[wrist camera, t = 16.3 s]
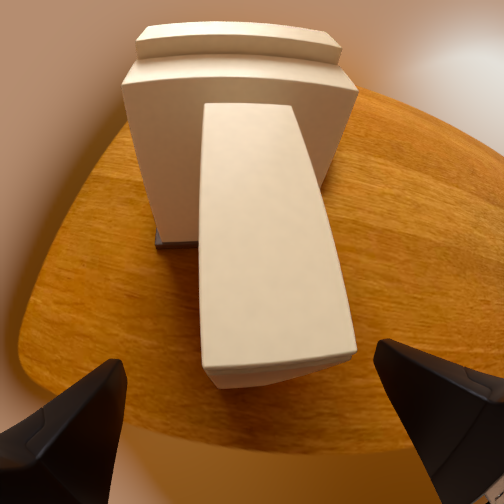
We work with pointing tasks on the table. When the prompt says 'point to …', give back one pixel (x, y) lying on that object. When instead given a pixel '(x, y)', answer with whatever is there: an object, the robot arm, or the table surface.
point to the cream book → (265, 253)
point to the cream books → (224, 91)
